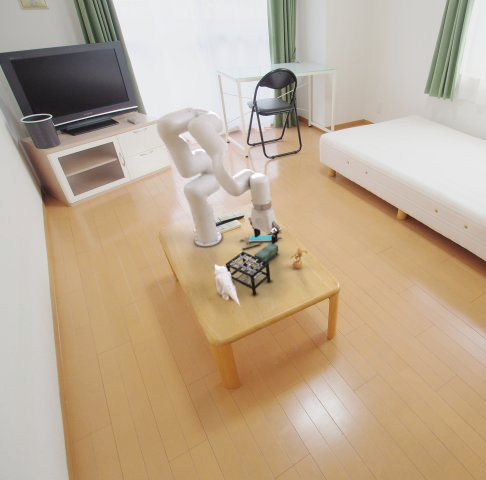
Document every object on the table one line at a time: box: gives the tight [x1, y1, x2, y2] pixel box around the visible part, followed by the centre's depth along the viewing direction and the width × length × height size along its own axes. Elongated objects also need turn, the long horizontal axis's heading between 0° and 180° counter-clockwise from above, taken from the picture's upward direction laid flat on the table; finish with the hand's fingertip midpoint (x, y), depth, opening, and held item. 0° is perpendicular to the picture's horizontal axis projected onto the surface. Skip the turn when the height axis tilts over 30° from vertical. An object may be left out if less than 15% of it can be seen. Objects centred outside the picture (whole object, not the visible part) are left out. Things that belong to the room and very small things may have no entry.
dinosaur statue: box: [213, 264, 241, 307], centre depth 130 cm, size 7×24×11 cm, turn 35°
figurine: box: [289, 247, 308, 270], centre depth 144 cm, size 8×6×12 cm
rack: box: [225, 251, 272, 297], centre depth 137 cm, size 14×10×10 cm
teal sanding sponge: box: [254, 242, 279, 265], centre depth 152 cm, size 11×4×5 cm, turn 147°
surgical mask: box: [240, 233, 283, 250], centre depth 164 cm, size 21×4×10 cm
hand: (266, 239), depth 146 cm, fingers open, 9 cm apart
